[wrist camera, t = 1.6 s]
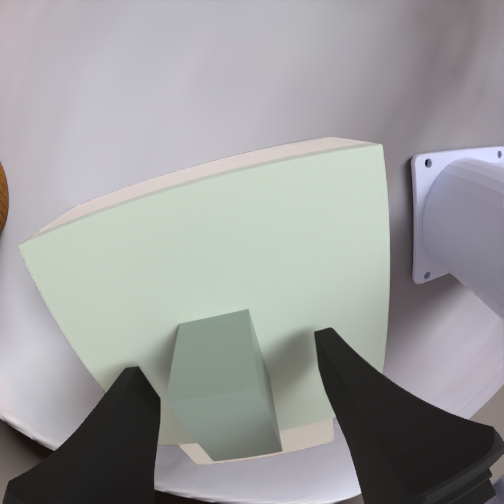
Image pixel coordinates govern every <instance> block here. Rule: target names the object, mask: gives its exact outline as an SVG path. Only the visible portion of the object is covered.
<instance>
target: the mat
mask: <svg viewBox="0 0 504 504" xmlns="http://www.w3.org/2000/svg"><path fill="white" fill-rule="evenodd" d="M279 433H280V439H281V444H282V450H283V451H281V452H276V453H271V454H266V455H260V456H253V457H247V458H240V459H232V460H222V461H213V460H212V459H211V458H210V457H209V456H208V454H207V453H206V452H205V451H204V450H203V449H202V447H201V446H200V445H199V444H198V443H194V444H180V445H178V446H179V447H180V448H181V449H182V450H183V451H184V452H185V453H186V454H187V455H188V456H189V457H190V458H191V459H192V460H193V461H194V462H195V463H196V464H197V465H203V464H216V463H226V462H235V461H243V460H250V459H256V458H262V457H268V456H274V455H279V454H284V453H289V452H293V451H298V450H302V449H306V448H310V447H314V446H318V445H322V444H325V443H329V442H332V441H334V435H333V418H330V419H327V420H323V421H320V422H316V423H312V424H308V425H304V426H300V427H296V428H292V429H288V430H283V431H279Z"/></svg>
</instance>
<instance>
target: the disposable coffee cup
mask: <svg viewBox="0 0 504 504" xmlns="http://www.w3.org/2000/svg"><path fill="white" fill-rule="evenodd" d="M7 211H8V189H7V182H6V177H5V173H4V170H3V167H2V165H1V163H0V232H1V230H2V228H3V227H4V224H5V220H6V217H7Z"/></svg>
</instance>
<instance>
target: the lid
mask: <svg viewBox="0 0 504 504" xmlns="http://www.w3.org/2000/svg"><path fill="white" fill-rule="evenodd" d="M18 248H19V250H20V252H21V255H22V257H23V259H24V261H25V264H26V266H27V268H28V270H29V272H30V274H31V276H32V278H33V280H34V282H35V284H36V286H37V288H38V290H39V292H40V294H41V296H42V298H43V300H44V302H45V303H46V305H47V307H48V309H49V310H50V312H51V314H52V316H53V317H54V319H55V321H56V323H57V324H58V326H59V327H60V329H61V331H62V332H63V334H64V336H65V337H66V339H67V340H68V342H69V343H70V345H71V346H72V348H73V349H74V351H75V352H76V354H77V355H78V357H79V358H80V360H81V361H82V362H83V364H84V365H85V367H86V368H87V369H88V371H89V372H90V373H91V375H92V376H93V377H94V379H95V380H96V381H97V383H98V384H99V385H100V387H101V388H102V389H103V390H104V392H105V393H106V392H107V391H108V390H109V388H110V387H111V386H112V384H113V383H114V382H115V380H116V379H117V378H118V376H119V375H120V374H121V373H122V371H123V370H124V369H125V368H127V367H136V366H139V367H140V369H141V370H142V372H143V373H144V375H145V376H146V378H147V379H148V381H149V382H150V384H151V385H152V387H153V388H154V390H155V391H156V393H157V394H158V395H159V397H160V398H161V422H160V430H159V437H158V444H157V445H180V444H194V443H198V444H199V445H200V446H201V447H202V449H203V450H204V451H205V452H206V453H207V454H208V456H209V457H210V458H211V459H212V460H213V461H222V460H232V459H240V458H247V457H253V456H260V455H266V454H271V453H276V452H281V451H283V450H282V444H281V439H280V433H279V431H283V430H288V429H292V428H296V427H300V426H304V425H308V424H312V423H316V422H320V421H323V420H327V419H330V418H334V417H336V416H335V413H334V411H333V409H332V406H331V404H330V402H329V399H328V397H327V395H326V392H325V389H324V386H323V383H322V379H321V376H320V373H319V369H318V361H317V353H316V345H315V337H314V331H318V330H322V329H325V328H329V327H331V328H333V329H334V330H335V331H336V332H337V333H338V334H339V335H340V336H341V337H342V338H343V340H344V341H345V342H346V343H347V344H348V345H349V346H350V347H352V348H353V349H354V350H355V351H356V352H357V353H358V354H359V355H360V356H361V357H362V358H364V359H365V360H366V361H367V362H368V363H369V364H370V365H372V366H373V367H374V368H375V369H376V370H378V371H379V372H380V373H382V374H383V367H384V358H385V349H386V339H387V327H388V312H389V290H390V232H389V211H388V196H387V184H386V173H385V164H384V156H383V148H382V144H376V143H364V144H357V145H351V146H344V147H338V148H332V149H326V150H320V151H315V152H309V153H304V154H299V155H294V156H289V157H284V158H279V159H274V160H270V161H265V162H261V163H256V164H252V165H248V166H243V167H239V168H235V169H231V170H227V171H223V172H219V173H215V174H212V175H208V176H204V177H200V178H197V179H193V180H190V181H186V182H182V183H179V184H176V185H172V186H169V187H165V188H162V189H159V190H156V191H152V192H149V193H146V194H143V195H140V196H137V197H134V198H131V199H128V200H125V201H122V202H119V203H116V204H113V205H110V206H107V207H105V208H102V209H99V210H96V211H94V212H91V213H88V214H86V215H83V216H80V217H78V218H75V219H72V220H70V221H67V222H65V223H62V224H60V225H57V226H55V227H52V228H50V229H48V230H45V231H43V232H41V233H38V234H36V235H34V236H31V237H29V238H27V239H26V240H25V241H23V242H22V243H21V244H19V245H18Z"/></svg>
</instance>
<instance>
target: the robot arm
mask: <svg viewBox="0 0 504 504" xmlns="http://www.w3.org/2000/svg"><path fill="white" fill-rule="evenodd" d="M426 159H427V161H428V164H427V166H425V161H426ZM411 171H412V185H413V208H414V252H413V274H412V279H413V281H414V282H415V283H416V284H422V283H425V282H427V281H430V280H433V279H436V278H438V277H441V276H444V275H446V274H449V273H450V274H451V275H453V276H454V277H455V278H456V279H458V280H459V281H460V282H461V283H462V284H463V285H465V286H466V287H467V288H468V289H469V290H470V291H472V292H473V293H474V294H475V295H476V296H477V297H478V298H480V299H481V300H482V301H483V302H484V303H485V304H486V305H487V306H488V307H490V308H491V309H492V310H493V311H494V312H495V313H496V314H497V315H498V316H499V317H500V318H501V319H502V320H503V321H504V146H495V147H481V148H469V149H459V150H449V151H440V152H431V153H423V154H417V155H414V156H413V158H412V160H411ZM426 273H427V274H426ZM425 274H426V275H425ZM314 337H315V345H316V353H317V361H318V369H319V373H320V376H321V379H322V383H323V386H324V389H325V392H326V395H327V397H328V399H329V402H330V404H331V406H332V409H333V411H334V413H335V416H336V418H337V420H338V423H339V425H340V427H341V429H342V432H343V434H344V436H345V439H346V441H347V444H348V447H349V450H350V453H351V456H352V460H353V463H354V466H355V470H356V474H357V477H358V481H359V485H360V488H361V492H362V496H363V500H364V504H504V475H503V476H501V477H500V478H499V479H498V480H496V481H495V482H494V483H493V484H491V482H490V480H489V478H491V477H492V473H491V472H490V470H489V467H491V466H492V465H493V464H494V463H495V462H496V461H497V460H498V459H499V458H500V457H501V456H502V455H503V454H504V441H503V440H502V438H501V436H500V435H499V434H498V432H497V431H496V430H495V429H494V427H492V426H488V425H484V424H481V423H476V422H473V421H470V420H467V419H464V418H461V417H459V416H456V415H454V414H451V413H448V412H446V411H444V410H442V409H440V408H438V407H435V406H433V405H431V404H429V403H427V402H425V401H423V400H421V399H420V398H418V397H416V396H414V395H413V394H411V393H409V392H408V391H406V390H404V389H403V388H401V387H400V386H398V385H397V384H395V383H394V382H392V381H391V380H390V379H388V378H387V377H386V376H384V375H383V374H382V373H380V372H379V371H378V370H376V369H375V368H374V367H373V366H372V365H370V364H369V363H368V362H367V361H366V360H365V359H364V358H362V357H361V356H360V355H359V354H358V353H357V352H356V351H355V350H354V349H353V348H352V347H350V346H349V345H348V344H347V343H346V342H345V341H344V340H343V338H342V337H341V336H340V335H339V334H338V333H337V332H336V331H335V330H334V329H333V328H331V327H329V328H325V329H322V330H318V331H314ZM160 422H161V398H160V397H159V395H158V394H157V393H156V391H155V390H154V388H153V387H152V385H151V384H150V382H149V381H148V379H147V378H146V376H145V375H144V373H143V372H142V370H141V369H140V367H139V366H136V367H127V368H125V369H124V370H123V371H122V373H121V374H120V375H119V376H118V378H117V379H116V380H115V382H114V383H113V384H112V386H111V387H110V388H109V390H108V391H107V392H106V394H105V395H104V396H103V398H102V399H101V400H100V402H99V403H98V404H97V406H96V407H95V408H94V409H93V411H92V412H91V413H90V414H89V416H88V417H87V418H86V419H85V420H84V422H83V423H82V424H81V425H80V427H79V428H78V429H77V430H76V431H75V432H74V433H73V434H72V435H71V436H70V437H69V438H68V439H67V440H66V441H65V442H64V443H63V444H62V445H61V446H60V447H59V448H58V449H57V450H55V451H54V452H53V453H52V454H51V455H50V456H49V457H47V458H46V459H45V460H43V461H42V462H41V463H39V464H38V465H36V466H35V467H33V468H32V469H30V470H29V471H27V472H25V473H23V474H22V475H20V476H18V477H16V478H14V479H12V480H10V481H9V482H8V485H7V489H6V492H5V495H4V499H3V502H2V503H3V504H155V497H154V468H155V459H156V452H157V444H158V437H159V430H160Z"/></svg>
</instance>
